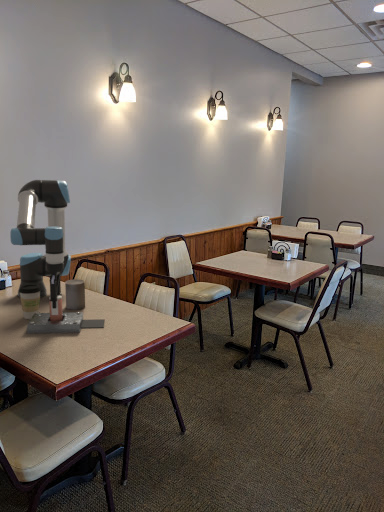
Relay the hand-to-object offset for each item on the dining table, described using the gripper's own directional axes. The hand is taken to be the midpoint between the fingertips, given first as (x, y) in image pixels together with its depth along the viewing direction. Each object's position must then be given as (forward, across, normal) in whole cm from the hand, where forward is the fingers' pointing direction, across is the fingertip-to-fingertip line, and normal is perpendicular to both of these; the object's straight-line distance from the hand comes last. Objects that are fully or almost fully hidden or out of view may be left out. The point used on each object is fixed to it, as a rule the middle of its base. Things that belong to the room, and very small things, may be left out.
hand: (56, 312), depth 184 cm
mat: (+7, -2, +16) cm, 18 cm away
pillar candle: (+7, -28, +5) cm, 29 cm away
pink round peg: (+6, 0, 0) cm, 6 cm away
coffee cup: (+7, -14, -14) cm, 21 cm away
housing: (+7, 0, 0) cm, 7 cm away
